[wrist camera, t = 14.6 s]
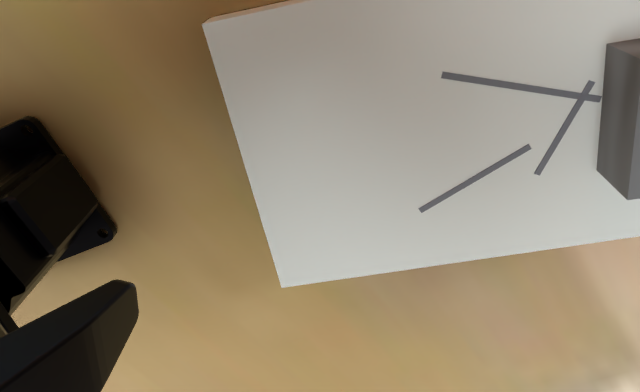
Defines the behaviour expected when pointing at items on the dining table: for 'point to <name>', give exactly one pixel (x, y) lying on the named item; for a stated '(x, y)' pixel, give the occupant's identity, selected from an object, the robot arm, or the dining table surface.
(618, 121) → the brown post on stand
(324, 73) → the primed board
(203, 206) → the dining table surface
